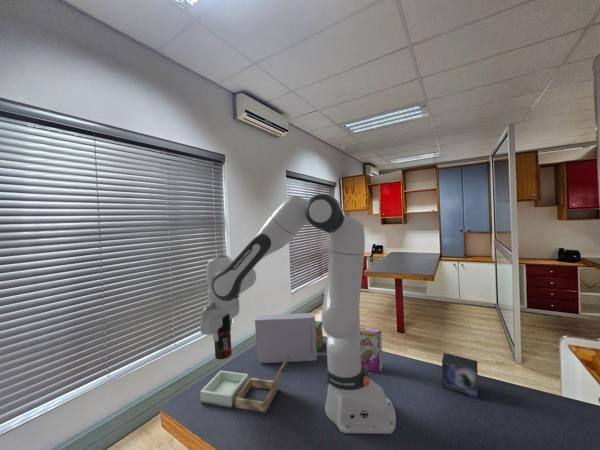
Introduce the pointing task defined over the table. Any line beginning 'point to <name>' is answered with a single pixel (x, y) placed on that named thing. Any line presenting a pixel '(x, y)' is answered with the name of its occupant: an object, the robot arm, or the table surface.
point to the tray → (223, 388)
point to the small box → (460, 375)
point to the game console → (286, 337)
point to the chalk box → (318, 335)
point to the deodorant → (223, 340)
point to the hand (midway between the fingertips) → (222, 335)
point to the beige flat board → (277, 378)
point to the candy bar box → (371, 349)
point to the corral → (254, 404)
